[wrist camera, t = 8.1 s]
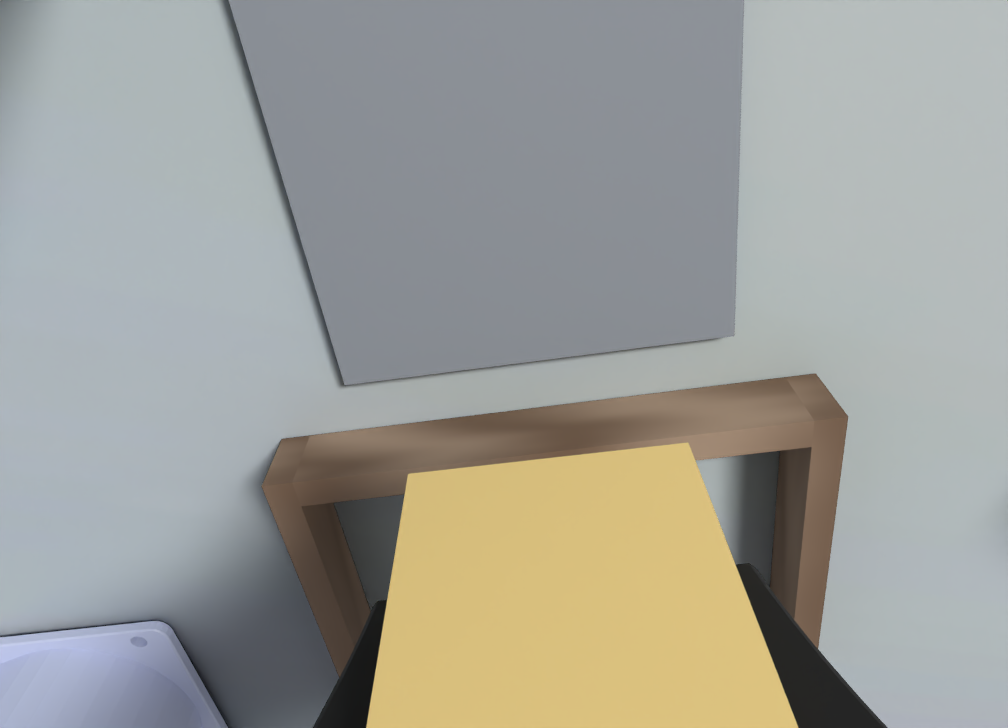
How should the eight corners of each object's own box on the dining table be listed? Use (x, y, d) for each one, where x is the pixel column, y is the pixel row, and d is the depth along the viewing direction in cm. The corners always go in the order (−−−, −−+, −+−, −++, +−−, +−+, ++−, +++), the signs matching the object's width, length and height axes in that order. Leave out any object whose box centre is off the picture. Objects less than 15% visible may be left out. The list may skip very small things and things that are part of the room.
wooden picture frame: (383, 712, 26) (375, 766, 24) (282, 439, 20) (261, 486, 18) (786, 673, 25) (808, 726, 23) (815, 373, 19) (848, 416, 17)
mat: (347, 377, 19) (344, 385, 18) (217, -60, 14) (210, -60, 13) (729, 328, 18) (734, 336, 18) (741, -148, 13) (748, -150, 13)
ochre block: (454, 653, 14) (429, 1081, 9) (408, 474, 11) (336, 908, 6) (688, 630, 13) (808, 1057, 8) (688, 442, 11) (854, 869, 6)
